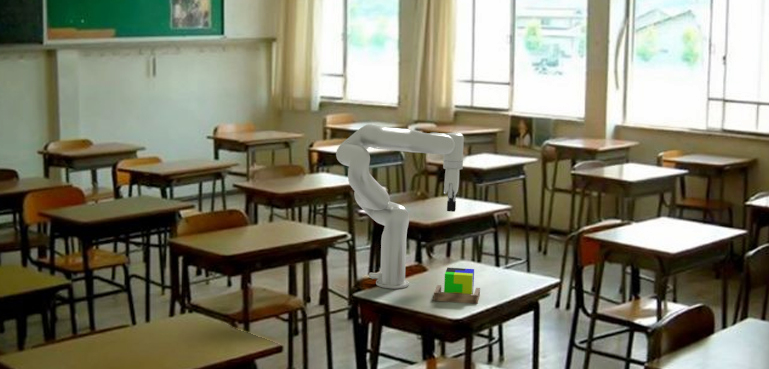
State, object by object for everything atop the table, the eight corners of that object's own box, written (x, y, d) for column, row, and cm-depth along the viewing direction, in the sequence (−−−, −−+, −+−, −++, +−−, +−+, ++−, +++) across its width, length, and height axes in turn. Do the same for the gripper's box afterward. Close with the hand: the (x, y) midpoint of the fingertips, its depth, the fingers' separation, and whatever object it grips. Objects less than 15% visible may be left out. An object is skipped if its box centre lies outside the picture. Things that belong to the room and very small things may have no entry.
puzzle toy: (473, 295, 399) (474, 269, 397) (471, 302, 389) (472, 275, 387) (446, 293, 400) (447, 267, 398) (443, 300, 390) (444, 273, 389)
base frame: (433, 300, 389) (433, 292, 389) (437, 292, 400) (437, 285, 400) (477, 303, 387) (477, 295, 386) (479, 295, 398) (480, 287, 397)
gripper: (445, 161, 423) (443, 207, 426) (441, 167, 408) (439, 214, 411) (464, 162, 421) (462, 208, 425) (460, 168, 407) (459, 215, 410)
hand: (451, 210), depth 418 cm, fingers closed
